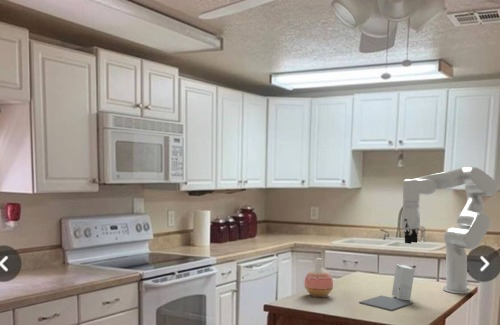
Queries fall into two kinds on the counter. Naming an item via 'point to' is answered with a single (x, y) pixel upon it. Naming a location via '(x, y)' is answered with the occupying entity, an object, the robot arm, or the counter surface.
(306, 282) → the vase
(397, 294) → the skincare box
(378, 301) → the mat
